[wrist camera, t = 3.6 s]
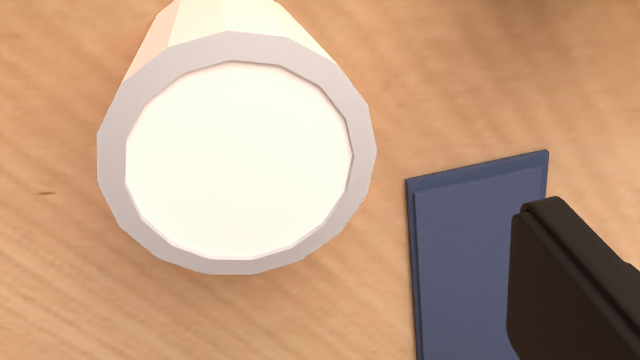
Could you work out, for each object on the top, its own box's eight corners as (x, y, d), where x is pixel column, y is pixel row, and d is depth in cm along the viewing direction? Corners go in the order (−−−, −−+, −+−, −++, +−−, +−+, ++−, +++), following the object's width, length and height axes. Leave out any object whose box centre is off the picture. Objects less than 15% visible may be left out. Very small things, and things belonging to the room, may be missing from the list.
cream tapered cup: (78, 81, 20) (33, 194, 14) (209, -87, 18) (220, -37, 12) (239, 188, 23) (258, 316, 17) (365, 55, 21) (432, 147, 16)
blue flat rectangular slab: (545, 148, 25) (552, 154, 25) (527, 375, 33) (532, 383, 32) (405, 178, 25) (409, 185, 24) (419, 402, 32) (423, 410, 32)
